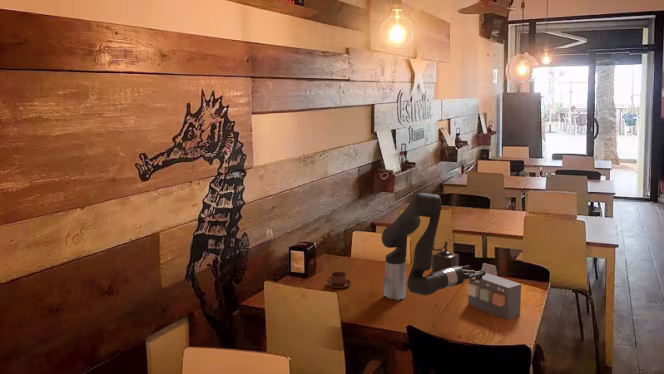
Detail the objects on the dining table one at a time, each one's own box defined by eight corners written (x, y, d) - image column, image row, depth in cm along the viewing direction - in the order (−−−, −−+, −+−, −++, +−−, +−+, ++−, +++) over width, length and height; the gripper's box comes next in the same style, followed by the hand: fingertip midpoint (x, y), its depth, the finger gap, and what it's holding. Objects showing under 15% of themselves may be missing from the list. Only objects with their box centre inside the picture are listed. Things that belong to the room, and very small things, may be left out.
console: (467, 304, 268) (468, 274, 265) (480, 300, 273) (481, 271, 270) (507, 320, 250) (508, 288, 248) (520, 315, 255) (521, 284, 252)
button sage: (479, 299, 259) (479, 289, 258) (486, 296, 261) (487, 287, 260) (487, 301, 255) (487, 292, 254) (494, 299, 257) (495, 289, 257)
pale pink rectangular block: (492, 286, 291) (493, 266, 289) (480, 283, 296) (481, 264, 294) (496, 284, 294) (497, 265, 292) (484, 281, 298) (484, 262, 296)
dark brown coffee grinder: (441, 267, 322) (441, 234, 319) (459, 271, 315) (460, 238, 312) (424, 274, 311) (425, 240, 308) (443, 278, 304) (443, 244, 301)
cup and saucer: (337, 292, 287) (337, 279, 286) (321, 285, 296) (321, 273, 295) (356, 286, 295) (355, 274, 294) (339, 280, 304) (339, 268, 303)
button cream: (467, 294, 264) (467, 284, 263) (474, 292, 267) (474, 282, 266) (475, 297, 261) (475, 287, 260) (482, 295, 263) (482, 285, 262)
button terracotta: (492, 303, 253) (492, 293, 252) (499, 301, 255) (499, 291, 255) (500, 306, 249) (501, 296, 248) (507, 304, 252) (508, 294, 251)
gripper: (463, 272, 236) (490, 265, 246) (437, 264, 248) (464, 257, 257) (463, 290, 237) (490, 282, 247) (437, 281, 249) (464, 274, 258)
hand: (477, 269), depth 252 cm, fingers open, 8 cm apart
